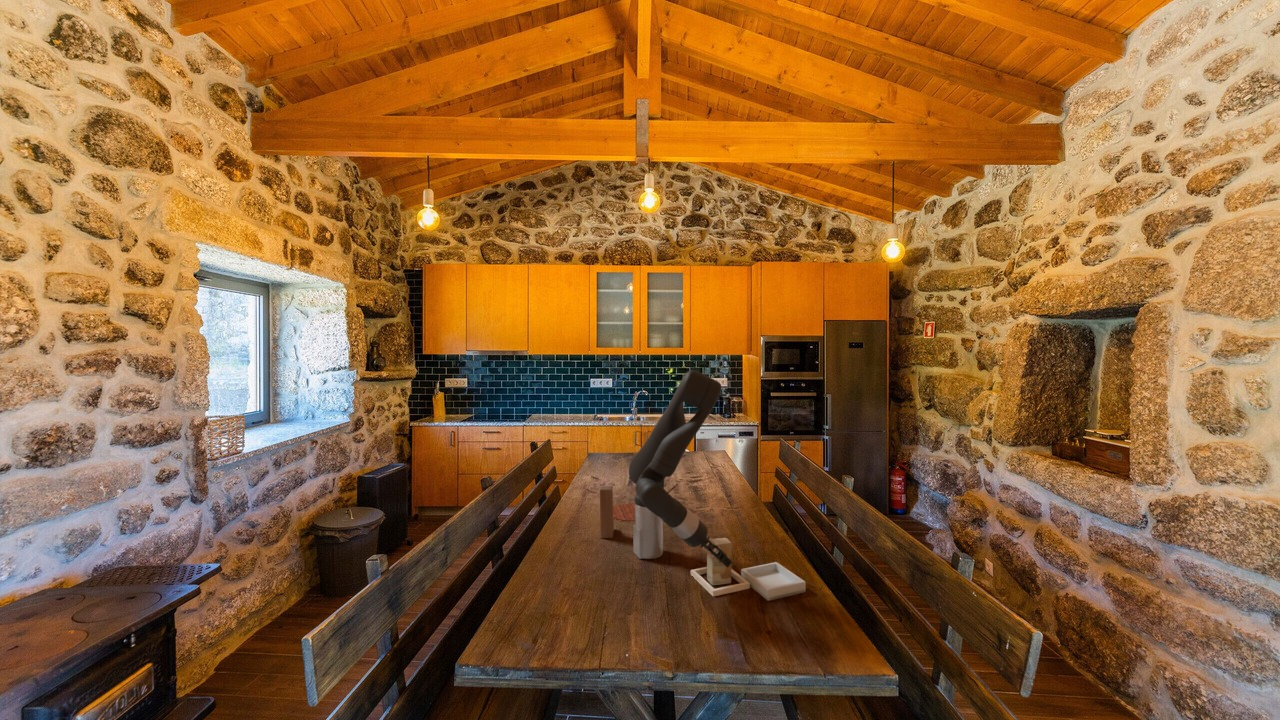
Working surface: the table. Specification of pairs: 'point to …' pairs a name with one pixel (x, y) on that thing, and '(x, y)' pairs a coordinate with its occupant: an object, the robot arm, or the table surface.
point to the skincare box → (719, 564)
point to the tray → (773, 581)
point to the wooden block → (606, 512)
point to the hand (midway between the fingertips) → (724, 560)
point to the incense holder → (627, 511)
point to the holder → (722, 590)
